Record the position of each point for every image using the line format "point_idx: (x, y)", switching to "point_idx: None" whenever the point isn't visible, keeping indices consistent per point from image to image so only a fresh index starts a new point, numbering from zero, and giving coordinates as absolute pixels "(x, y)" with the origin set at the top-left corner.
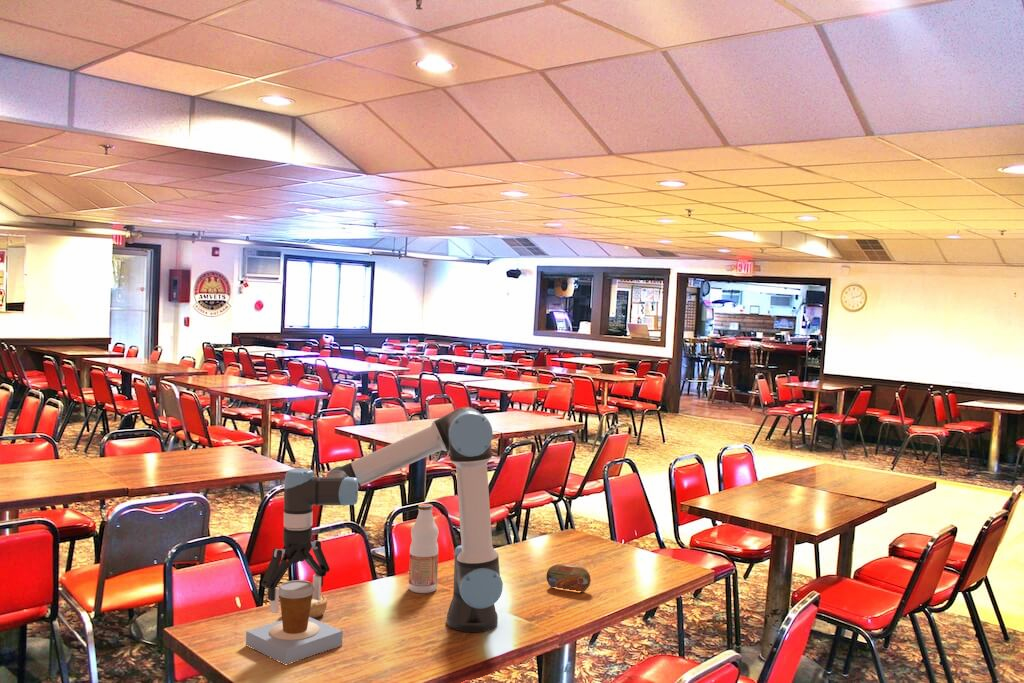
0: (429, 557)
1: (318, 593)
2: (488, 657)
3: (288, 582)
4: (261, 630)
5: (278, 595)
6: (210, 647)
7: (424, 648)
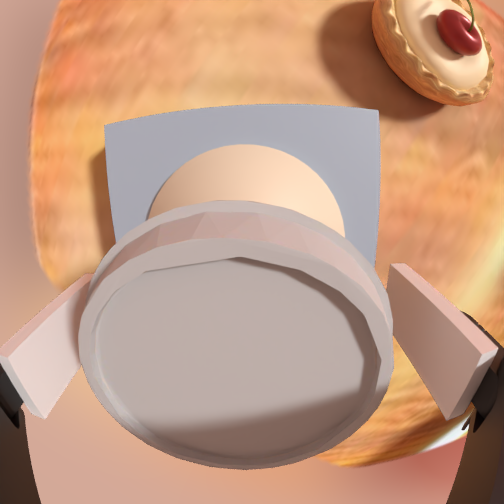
0: None
1: (398, 339)
2: (422, 451)
3: (225, 255)
4: (146, 153)
5: (65, 386)
6: (64, 86)
7: (419, 409)
